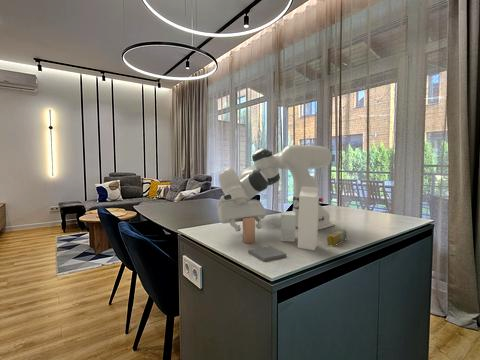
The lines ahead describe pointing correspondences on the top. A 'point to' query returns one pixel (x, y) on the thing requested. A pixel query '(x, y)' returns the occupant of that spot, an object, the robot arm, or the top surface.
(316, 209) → the milk
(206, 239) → the top surface
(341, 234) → the medication box
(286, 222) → the small box
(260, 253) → the coaster
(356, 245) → the top surface
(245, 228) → the tan round cylinder
